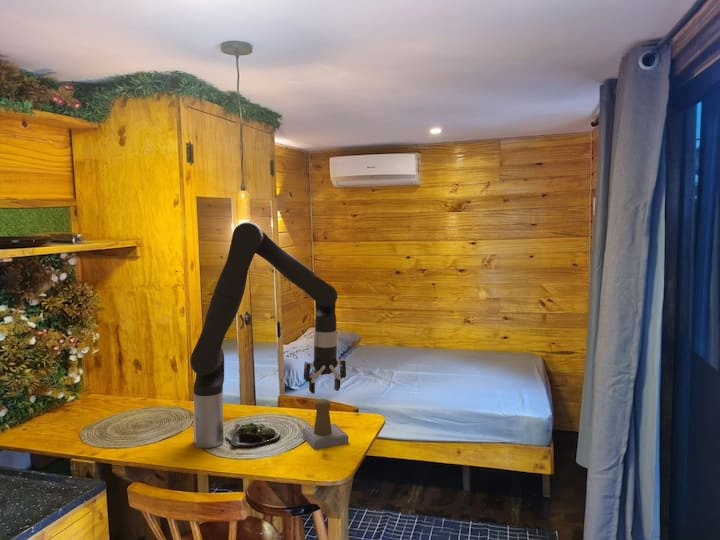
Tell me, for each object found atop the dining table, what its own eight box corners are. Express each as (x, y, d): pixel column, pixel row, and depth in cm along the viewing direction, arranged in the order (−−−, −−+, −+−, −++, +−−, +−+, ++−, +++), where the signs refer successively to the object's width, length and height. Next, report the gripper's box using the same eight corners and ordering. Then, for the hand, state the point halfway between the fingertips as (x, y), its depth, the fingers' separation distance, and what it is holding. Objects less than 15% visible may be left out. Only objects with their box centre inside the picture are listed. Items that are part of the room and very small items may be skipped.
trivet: (314, 449, 175) (314, 441, 175) (302, 436, 186) (302, 428, 186) (348, 443, 180) (348, 435, 180) (335, 430, 191) (335, 423, 191)
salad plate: (214, 434, 189) (213, 421, 188) (261, 423, 199) (261, 411, 198) (235, 453, 173) (235, 439, 172) (286, 441, 183) (286, 427, 183)
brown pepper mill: (320, 437, 179) (320, 404, 178) (310, 431, 183) (310, 399, 182) (335, 432, 182) (335, 400, 182) (324, 427, 187) (324, 396, 186)
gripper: (308, 348, 174) (308, 397, 176) (349, 344, 180) (348, 392, 182) (301, 343, 181) (300, 390, 182) (341, 340, 187) (340, 386, 188)
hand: (324, 391), depth 182 cm, fingers open, 8 cm apart
